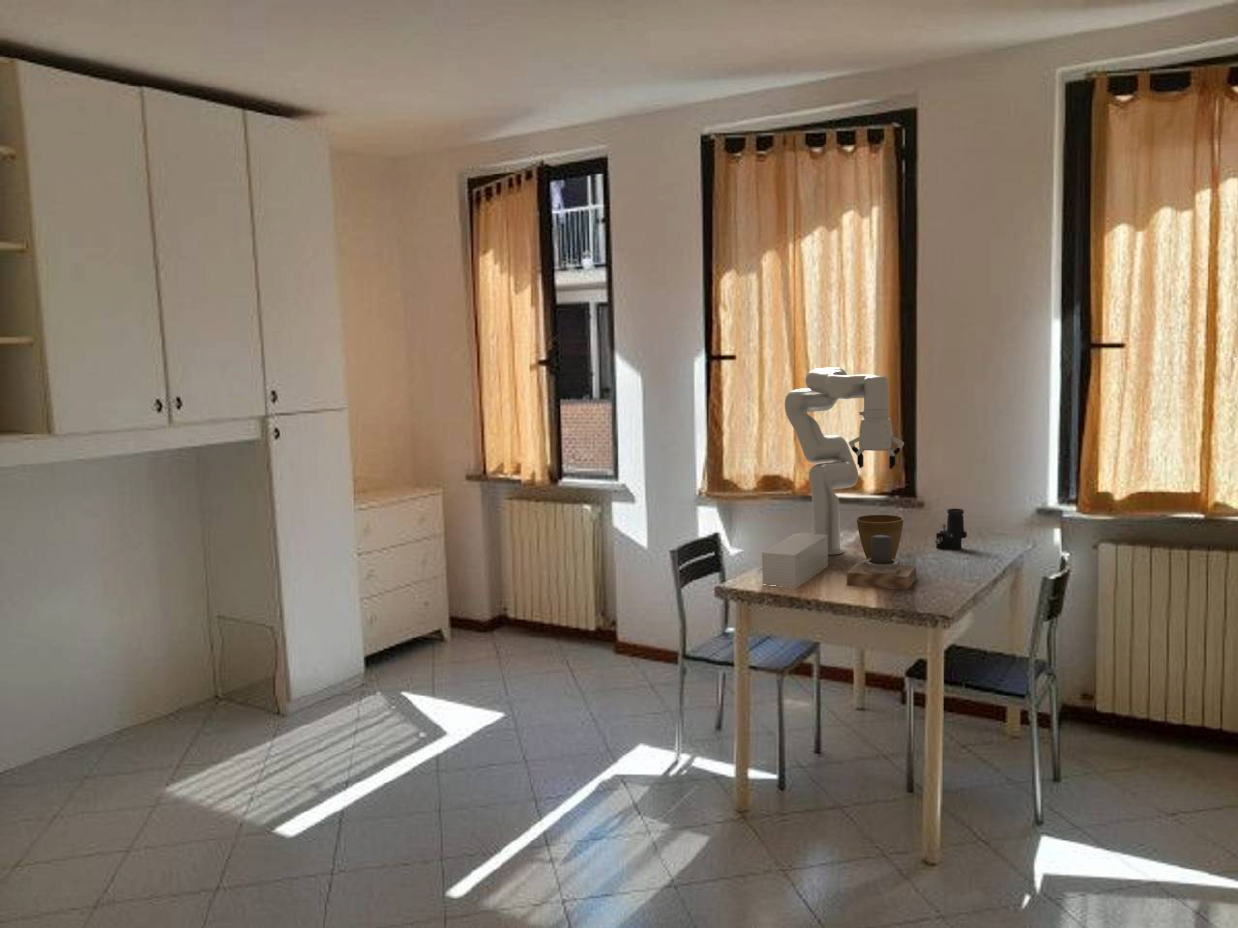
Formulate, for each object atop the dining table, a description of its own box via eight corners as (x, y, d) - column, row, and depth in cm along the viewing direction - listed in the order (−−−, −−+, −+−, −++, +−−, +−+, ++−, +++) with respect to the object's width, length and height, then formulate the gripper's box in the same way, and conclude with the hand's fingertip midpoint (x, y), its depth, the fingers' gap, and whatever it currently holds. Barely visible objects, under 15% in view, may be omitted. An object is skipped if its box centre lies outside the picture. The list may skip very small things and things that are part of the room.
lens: (869, 570, 297) (869, 537, 296) (874, 566, 303) (873, 534, 301) (889, 571, 295) (888, 538, 293) (893, 567, 300) (893, 535, 299)
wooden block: (846, 585, 297) (846, 564, 296) (857, 574, 309) (857, 554, 308) (907, 590, 289) (907, 568, 288) (915, 578, 301) (915, 558, 300)
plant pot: (904, 561, 324) (904, 514, 322) (901, 572, 310) (901, 523, 308) (859, 559, 329) (859, 513, 327) (854, 569, 315) (854, 521, 313)
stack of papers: (797, 563, 328) (796, 532, 326) (827, 566, 322) (827, 534, 321) (762, 586, 300) (761, 552, 299) (795, 589, 295) (795, 555, 293)
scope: (942, 506, 345) (970, 508, 339) (942, 544, 347) (970, 547, 341) (934, 510, 338) (963, 512, 332) (934, 549, 340) (962, 552, 334)
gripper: (846, 415, 309) (846, 468, 312) (901, 415, 301) (901, 470, 304) (851, 413, 316) (852, 465, 318) (906, 413, 308) (906, 467, 310)
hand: (876, 467), depth 311 cm, fingers open, 9 cm apart
